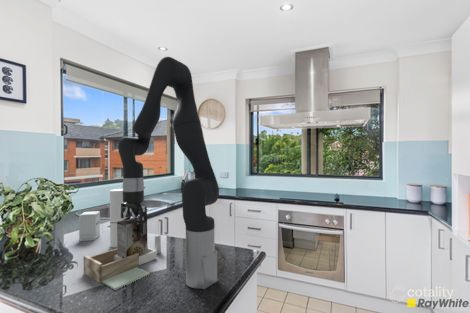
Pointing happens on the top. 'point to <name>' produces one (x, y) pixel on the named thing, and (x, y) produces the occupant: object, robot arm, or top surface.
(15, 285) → the top surface
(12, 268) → the top surface
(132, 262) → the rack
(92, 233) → the supplement box
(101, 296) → the top surface
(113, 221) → the cylindrical container
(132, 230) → the coffee box
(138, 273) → the mat
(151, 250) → the white frame with handle
